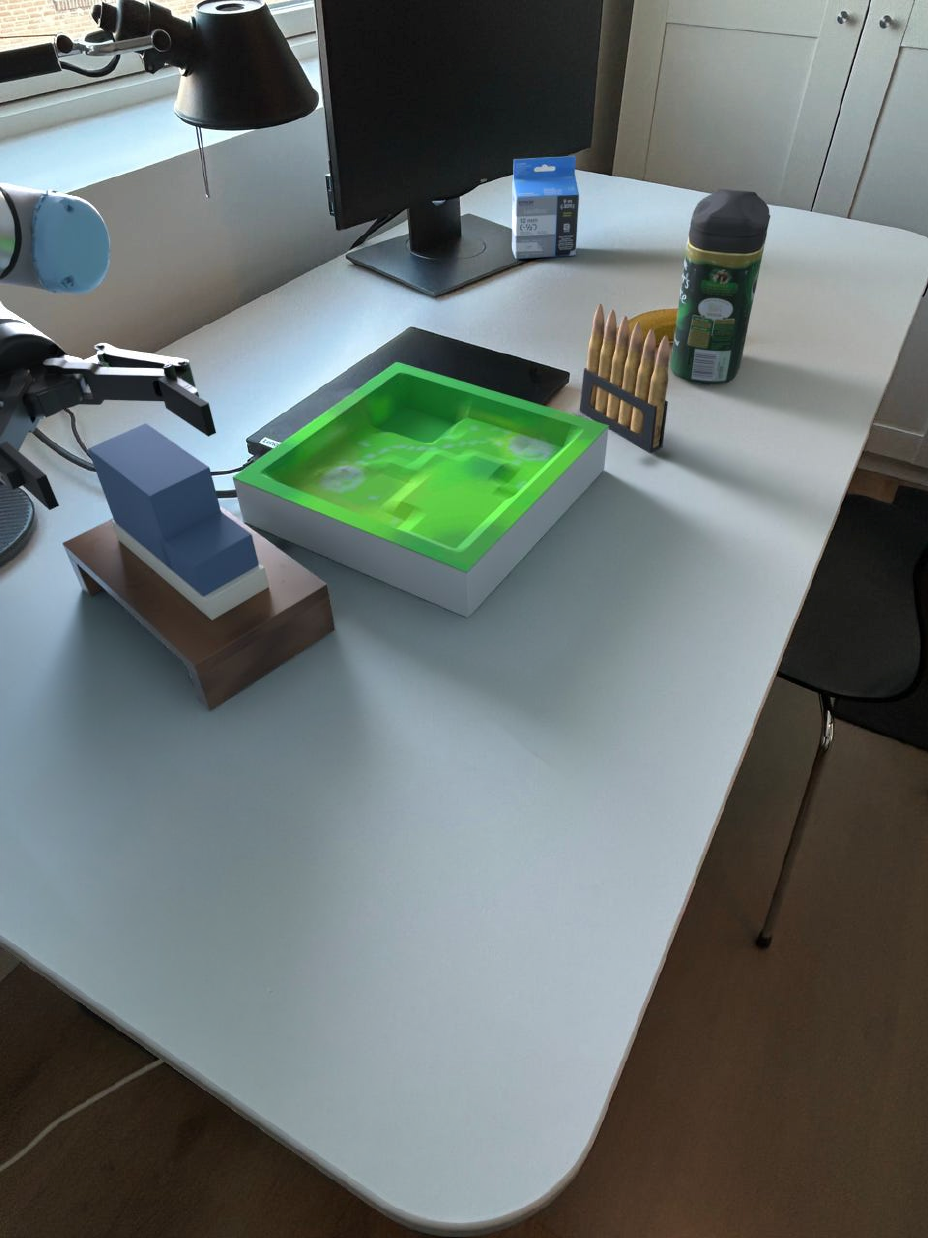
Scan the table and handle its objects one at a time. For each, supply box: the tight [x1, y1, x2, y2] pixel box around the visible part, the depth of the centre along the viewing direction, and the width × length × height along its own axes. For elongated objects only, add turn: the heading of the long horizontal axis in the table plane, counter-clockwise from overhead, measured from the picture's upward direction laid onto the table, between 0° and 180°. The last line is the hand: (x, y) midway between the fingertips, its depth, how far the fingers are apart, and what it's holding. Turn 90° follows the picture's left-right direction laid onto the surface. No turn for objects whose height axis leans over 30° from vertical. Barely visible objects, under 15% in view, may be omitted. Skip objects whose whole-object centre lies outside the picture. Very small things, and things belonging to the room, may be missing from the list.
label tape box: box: [511, 155, 580, 260], centre depth 123 cm, size 9×4×12 cm, turn 95°
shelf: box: [62, 505, 336, 712], centre depth 72 cm, size 12×20×5 cm, turn 45°
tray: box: [232, 361, 609, 619], centre depth 83 cm, size 25×25×5 cm
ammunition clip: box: [579, 303, 671, 454], centre depth 88 cm, size 11×2×12 cm, turn 37°
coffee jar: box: [670, 188, 771, 386], centre depth 95 cm, size 10×8×19 cm
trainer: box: [87, 423, 269, 620], centre depth 67 cm, size 5×14×9 cm, turn 45°
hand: (132, 454), depth 67 cm, fingers open, 13 cm apart
